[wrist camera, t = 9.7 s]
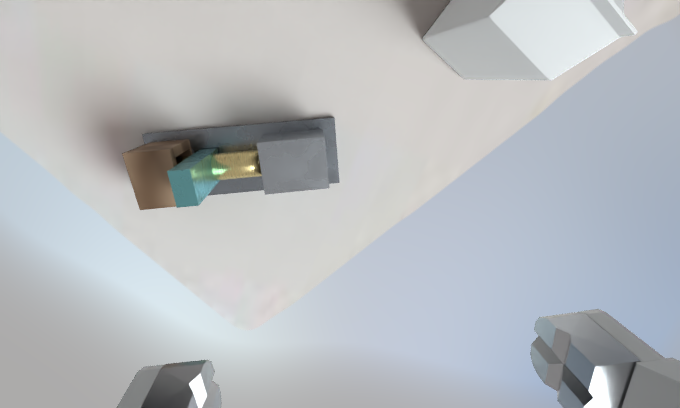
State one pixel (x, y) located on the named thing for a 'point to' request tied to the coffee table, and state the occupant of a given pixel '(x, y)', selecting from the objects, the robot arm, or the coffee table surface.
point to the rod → (209, 173)
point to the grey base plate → (271, 153)
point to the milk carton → (524, 36)
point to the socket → (154, 171)
